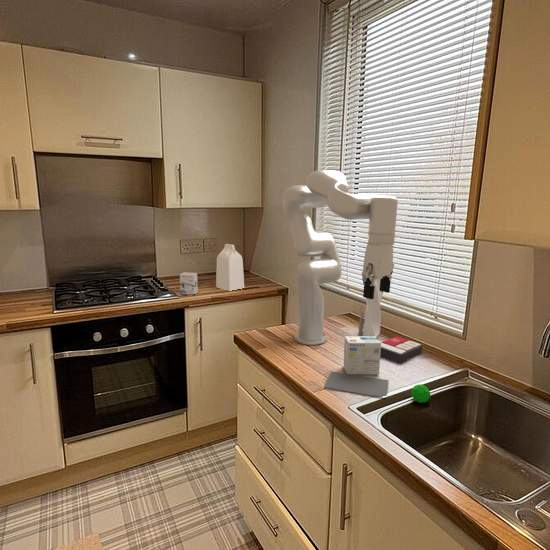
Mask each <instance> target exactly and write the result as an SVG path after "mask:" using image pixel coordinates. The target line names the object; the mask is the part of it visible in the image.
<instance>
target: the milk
mask: <svg viewBox="0 0 550 550" xmlns="http://www.w3.org/2000/svg"><path fill="white" fill-rule="evenodd" d="M215 273H216V278H215V279H216V280H215V281H216V282H215V288H216V287H217V288H220V289H224V290H228V291H232V290H237V289H241V290H243V289H242V288H245V277H244V276H245V275H244V262H243V256H242V255H241V254H240V253H239V252H238V251H237V250H236V248H235V244H231V243H230V244H229V243H225V244H224V247H223V249H222V250H221V251H220V253H218V255H217V257H216V272H215ZM237 291H238V290H237Z"/></svg>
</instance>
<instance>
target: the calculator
mask: <svg viewBox="0 0 550 550" xmlns="http://www.w3.org/2000/svg"><path fill="white" fill-rule="evenodd" d="M422 352H423V345H422V344H421V343H418V342H415V341H411V340H408V339H406V338H402V337H400V336H394V337H392V338H389V339H386V340H383V341H382V342H381V353H380V358H382V359H384V358H385V360H387V361H390V362H392V361H393V362H392V363H395V362H396V363H395V364H398V365H401V364H404V363H406V362H407V361H408V360H410V359H412V358H414V357H416V356H418V355H420V354H422ZM403 362H404V363H403Z"/></svg>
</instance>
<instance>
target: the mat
mask: <svg viewBox="0 0 550 550" xmlns="http://www.w3.org/2000/svg"><path fill="white" fill-rule="evenodd" d="M323 388H324V389H326V390H332V391H338V392H343V393H349V394H355V395H361V396H366V397H368V396H369V397H372V398H377V397H383V396H386V395H387V396H388V389H389V379H384V378H379V377H373V376H372V377H371V376H365V375H360V374H347V373H346V372H340V371H333V370H330V373H329V374H328V377H327V379H326V381H325V384H324V386H323ZM385 398H386V399H387V397H385Z"/></svg>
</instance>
